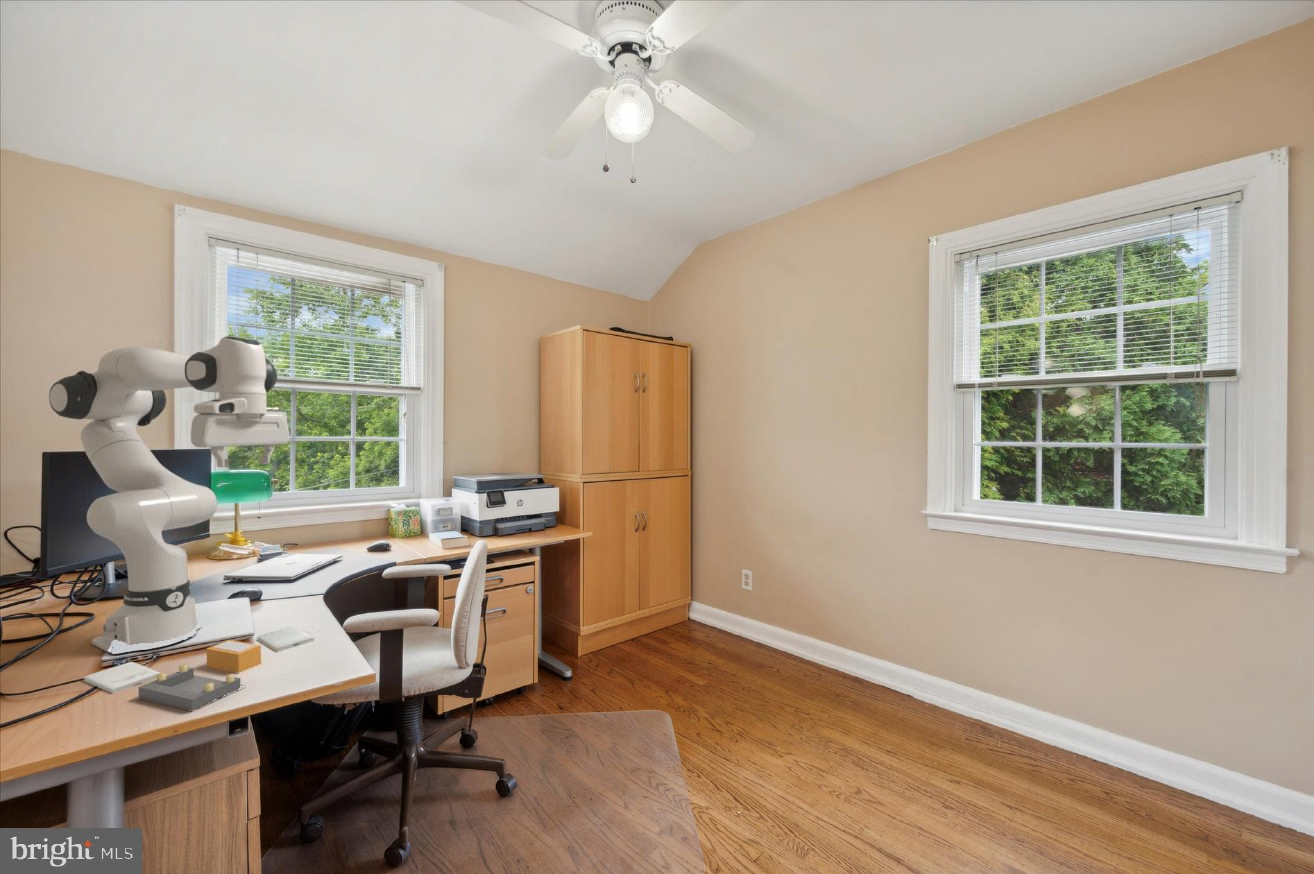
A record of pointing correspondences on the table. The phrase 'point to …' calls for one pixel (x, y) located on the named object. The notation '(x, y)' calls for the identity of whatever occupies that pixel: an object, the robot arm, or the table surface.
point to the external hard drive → (121, 677)
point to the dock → (187, 689)
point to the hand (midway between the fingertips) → (244, 465)
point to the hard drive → (285, 639)
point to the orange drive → (233, 656)
